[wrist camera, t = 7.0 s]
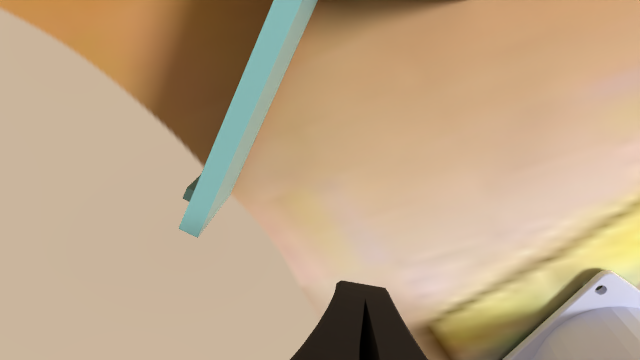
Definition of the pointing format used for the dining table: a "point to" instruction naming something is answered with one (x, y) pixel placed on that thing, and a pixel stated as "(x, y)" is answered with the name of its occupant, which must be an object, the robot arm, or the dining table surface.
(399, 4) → the dining table surface
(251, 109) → the side door
